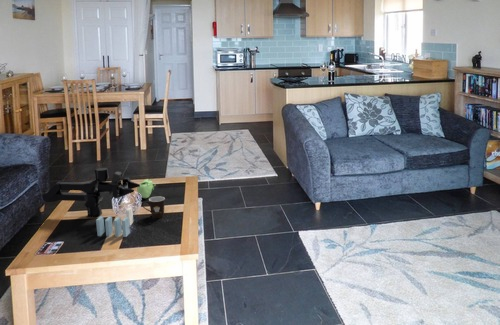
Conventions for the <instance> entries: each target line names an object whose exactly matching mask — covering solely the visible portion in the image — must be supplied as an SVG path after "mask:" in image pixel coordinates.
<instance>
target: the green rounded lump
mask: <svg viewBox="0 0 500 325" xmlns="http://www.w3.org/2000/svg"><path fill="white" fill-rule="evenodd" d="M153 180H154V179H152V178H150V179H149V178H145V179H144V180H142V181H141V182H140V183H139V184H140V186H139V187H136V192H138V193H140V194H141V195H142V197H141V198H142V199H149V198H150V196H151V194H152V191H154V190H155V187H156V183H155V184H153ZM138 193H137V194H138Z"/></svg>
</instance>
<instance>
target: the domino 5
mask: <svg viewBox="0 0 500 325" xmlns="http://www.w3.org/2000/svg"><path fill="white" fill-rule="evenodd" d="M125 213H126V214H125V217H129V227H130V226H132V224H133V223H134V215H133V206H128V208H126V210H125Z"/></svg>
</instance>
